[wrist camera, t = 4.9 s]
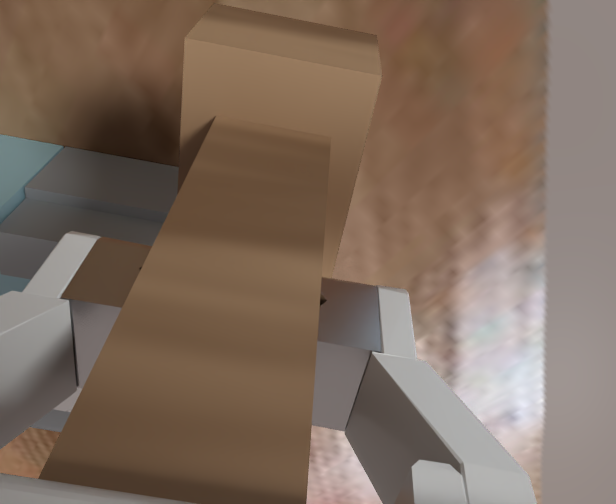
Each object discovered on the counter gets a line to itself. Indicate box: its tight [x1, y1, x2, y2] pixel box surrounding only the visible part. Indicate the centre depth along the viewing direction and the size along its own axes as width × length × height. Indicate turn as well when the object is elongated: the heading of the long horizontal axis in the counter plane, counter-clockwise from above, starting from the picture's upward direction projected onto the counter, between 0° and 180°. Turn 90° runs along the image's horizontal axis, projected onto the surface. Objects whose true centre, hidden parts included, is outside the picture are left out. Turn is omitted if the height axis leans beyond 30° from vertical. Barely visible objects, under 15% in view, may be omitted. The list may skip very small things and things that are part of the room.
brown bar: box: [38, 3, 382, 504], centre depth 11 cm, size 6×4×12 cm
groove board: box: [0, 147, 179, 432], centre depth 27 cm, size 12×12×6 cm
